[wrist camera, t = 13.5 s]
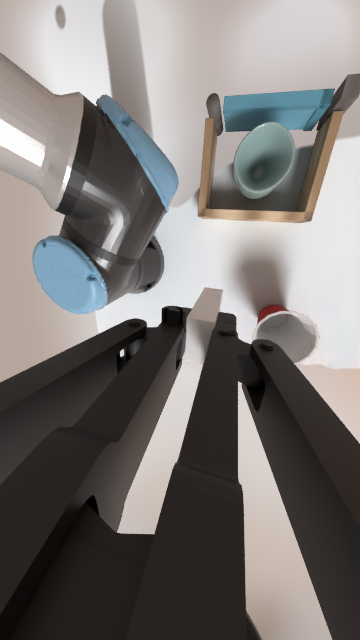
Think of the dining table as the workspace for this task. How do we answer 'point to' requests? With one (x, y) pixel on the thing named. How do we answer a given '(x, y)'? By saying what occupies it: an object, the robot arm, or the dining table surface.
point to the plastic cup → (288, 332)
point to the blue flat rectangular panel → (276, 109)
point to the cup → (263, 159)
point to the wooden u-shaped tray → (315, 168)
